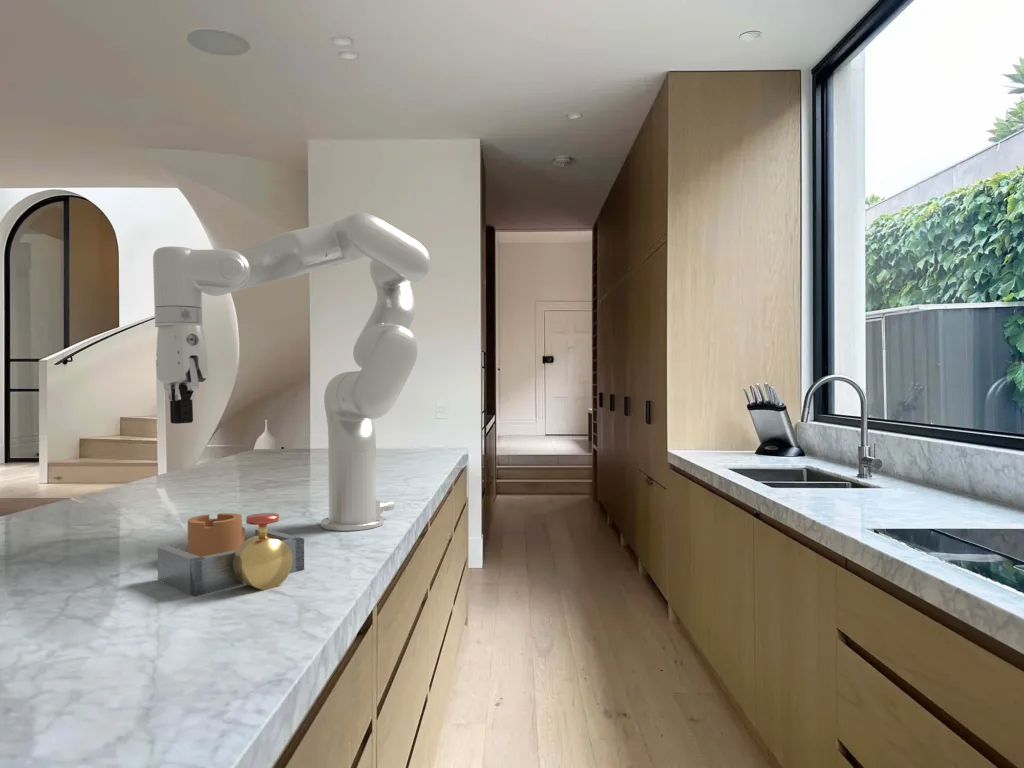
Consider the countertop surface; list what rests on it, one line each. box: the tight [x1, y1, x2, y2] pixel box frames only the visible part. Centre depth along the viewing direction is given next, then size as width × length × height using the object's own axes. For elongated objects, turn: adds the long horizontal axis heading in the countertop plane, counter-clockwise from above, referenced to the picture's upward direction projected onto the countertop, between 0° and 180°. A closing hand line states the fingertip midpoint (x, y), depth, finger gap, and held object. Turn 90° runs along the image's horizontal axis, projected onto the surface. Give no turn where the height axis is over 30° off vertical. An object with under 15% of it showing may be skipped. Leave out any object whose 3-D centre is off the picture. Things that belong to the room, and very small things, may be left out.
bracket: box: [187, 512, 246, 557], centre depth 118 cm, size 18×8×7 cm, turn 19°
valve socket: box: [157, 512, 305, 598], centre depth 101 cm, size 17×17×10 cm
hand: (181, 422), depth 119 cm, fingers closed
